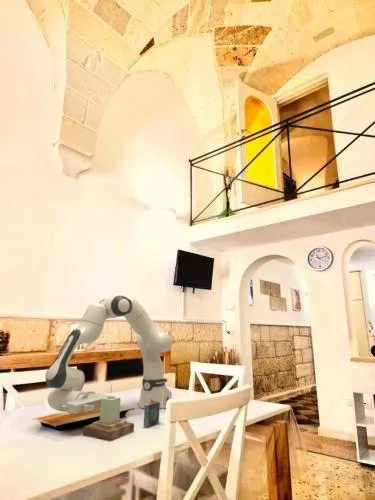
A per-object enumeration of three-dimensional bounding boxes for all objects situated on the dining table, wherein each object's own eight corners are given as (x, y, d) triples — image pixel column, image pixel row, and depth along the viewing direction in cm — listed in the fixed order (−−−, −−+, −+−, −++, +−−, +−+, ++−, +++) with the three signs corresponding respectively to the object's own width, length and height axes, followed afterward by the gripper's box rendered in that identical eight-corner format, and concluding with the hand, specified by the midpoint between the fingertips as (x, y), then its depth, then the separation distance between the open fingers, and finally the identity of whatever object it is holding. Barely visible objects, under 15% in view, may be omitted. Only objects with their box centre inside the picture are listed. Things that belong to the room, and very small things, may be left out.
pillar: (108, 422, 135) (110, 394, 137) (119, 424, 132) (120, 396, 135) (99, 425, 130) (101, 396, 133) (109, 427, 127) (111, 398, 130)
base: (107, 426, 140) (108, 415, 141) (133, 431, 133) (134, 420, 134) (82, 435, 128) (83, 423, 129) (110, 441, 121) (111, 428, 122)
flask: (146, 428, 137) (147, 400, 140) (141, 427, 139) (142, 399, 142) (160, 423, 145) (161, 397, 147) (155, 422, 146) (156, 396, 149)
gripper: (59, 398, 133) (84, 402, 126) (95, 391, 150) (119, 393, 144) (58, 415, 131) (83, 420, 125) (94, 405, 149) (118, 409, 142)
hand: (102, 406), depth 135 cm, fingers open, 8 cm apart
